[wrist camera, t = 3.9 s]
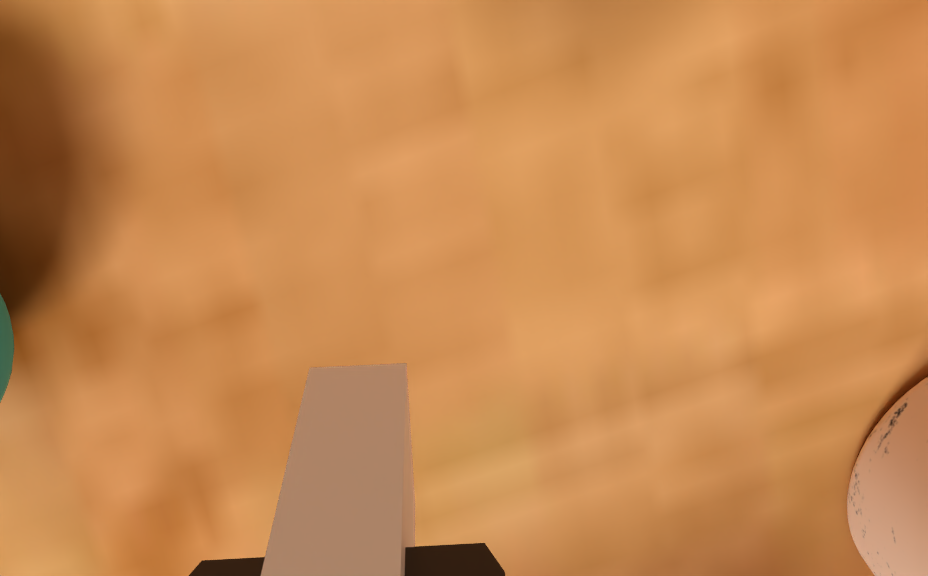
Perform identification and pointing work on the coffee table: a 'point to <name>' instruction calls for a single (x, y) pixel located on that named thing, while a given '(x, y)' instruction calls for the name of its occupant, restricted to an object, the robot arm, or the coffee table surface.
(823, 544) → the coffee table surface
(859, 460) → the teacup with lid
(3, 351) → the ball
